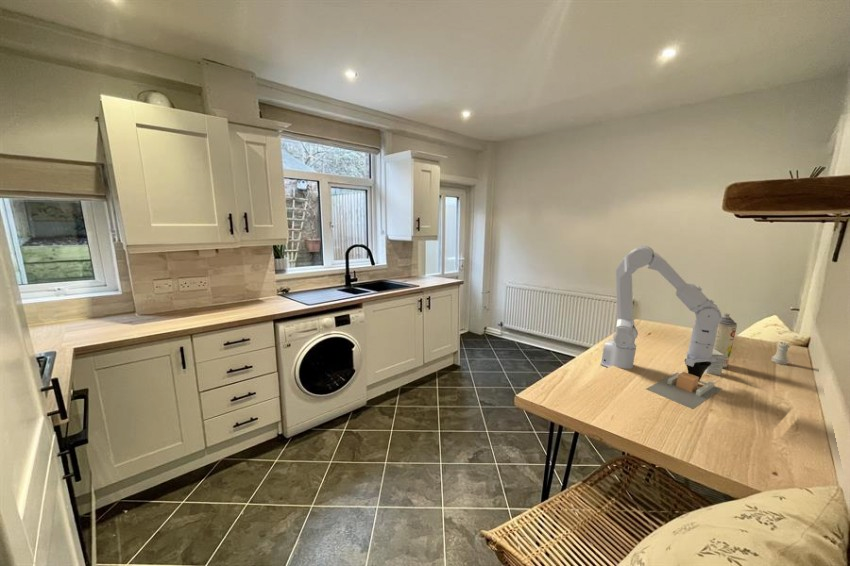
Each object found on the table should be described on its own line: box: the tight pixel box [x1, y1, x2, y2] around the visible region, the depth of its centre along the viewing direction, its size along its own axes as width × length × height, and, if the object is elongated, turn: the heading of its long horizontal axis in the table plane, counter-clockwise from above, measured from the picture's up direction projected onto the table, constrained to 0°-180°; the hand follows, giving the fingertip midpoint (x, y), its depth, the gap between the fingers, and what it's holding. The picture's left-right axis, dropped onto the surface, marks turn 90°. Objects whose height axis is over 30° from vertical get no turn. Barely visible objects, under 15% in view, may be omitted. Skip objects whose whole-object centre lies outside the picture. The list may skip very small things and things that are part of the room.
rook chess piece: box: [770, 341, 791, 366], centre depth 122 cm, size 4×4×8 cm
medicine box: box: [704, 349, 725, 377], centre depth 112 cm, size 8×4×9 cm, turn 168°
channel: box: [645, 371, 723, 410], centre depth 99 cm, size 12×22×3 cm, turn 121°
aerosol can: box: [713, 312, 738, 369], centre depth 118 cm, size 7×7×20 cm
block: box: [676, 371, 699, 392], centre depth 99 cm, size 4×4×4 cm
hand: (693, 381), depth 102 cm, fingers closed
